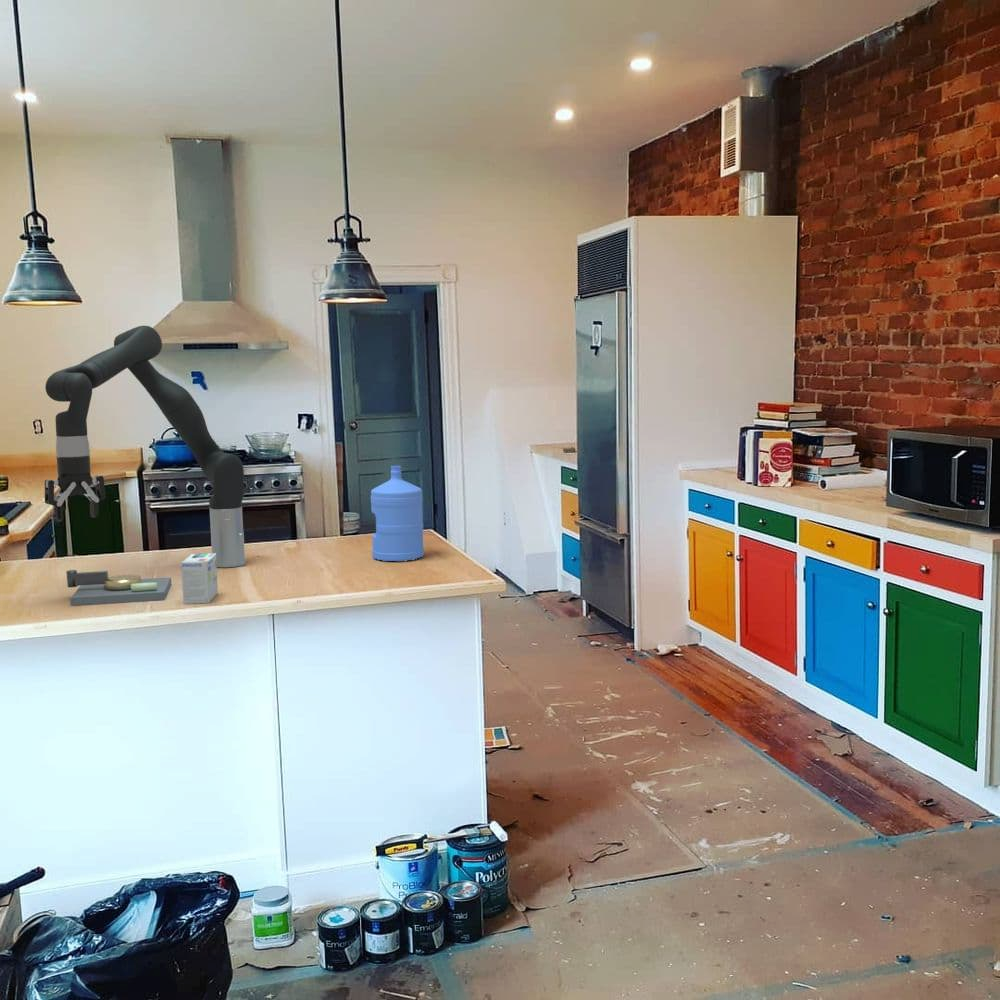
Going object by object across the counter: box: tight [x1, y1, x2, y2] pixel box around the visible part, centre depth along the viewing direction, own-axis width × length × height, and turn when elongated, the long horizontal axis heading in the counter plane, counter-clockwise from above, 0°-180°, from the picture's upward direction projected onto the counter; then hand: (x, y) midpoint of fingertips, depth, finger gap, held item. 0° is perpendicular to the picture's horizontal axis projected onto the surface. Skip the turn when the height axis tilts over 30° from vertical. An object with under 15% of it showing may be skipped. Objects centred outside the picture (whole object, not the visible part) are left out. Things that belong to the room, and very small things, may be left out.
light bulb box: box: [180, 552, 219, 605], centre depth 244 cm, size 11×7×11 cm, turn 5°
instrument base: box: [69, 576, 172, 607], centre depth 250 cm, size 22×18×4 cm
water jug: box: [370, 465, 425, 562], centre depth 293 cm, size 16×16×28 cm
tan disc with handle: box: [66, 569, 142, 590], centre depth 248 cm, size 18×9×5 cm, turn 103°
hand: (77, 519), depth 240 cm, fingers open, 8 cm apart
